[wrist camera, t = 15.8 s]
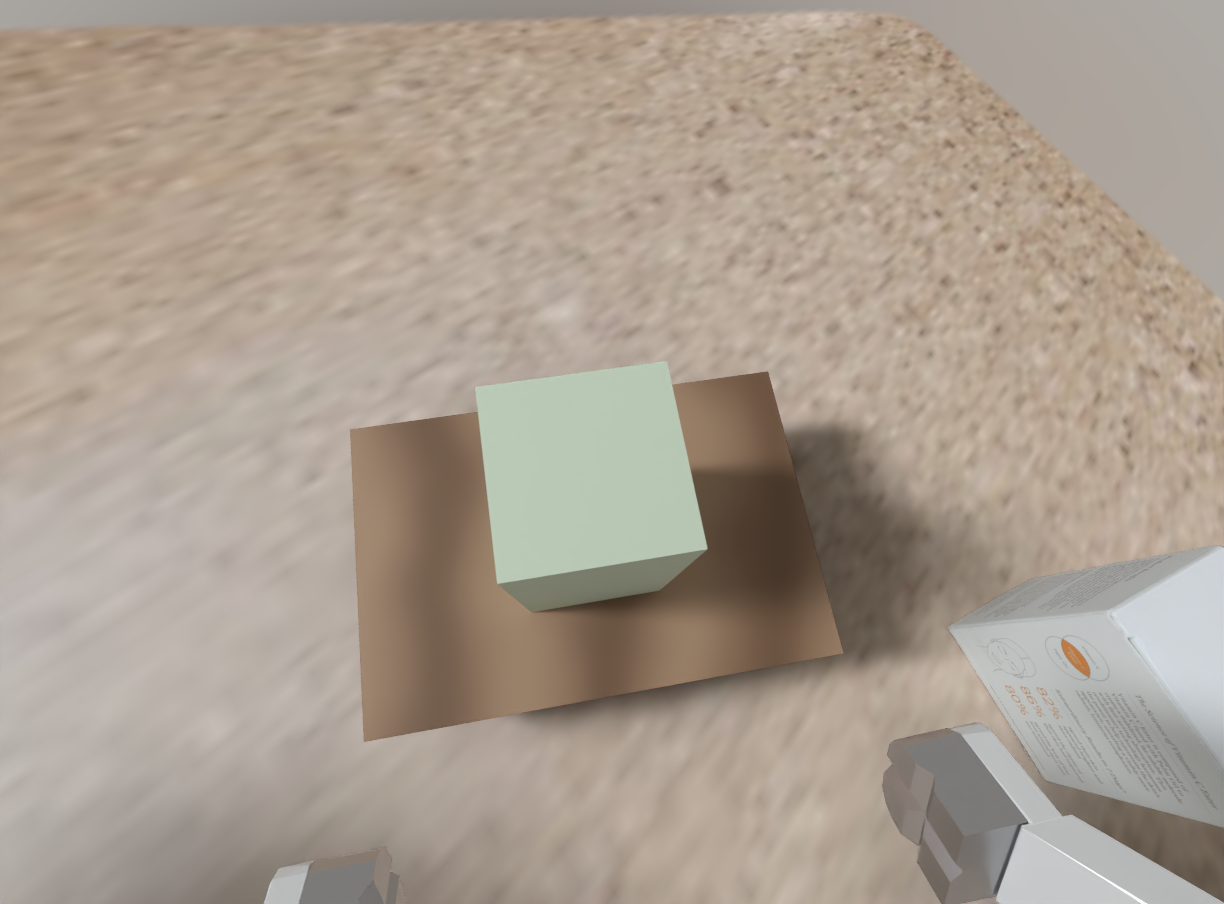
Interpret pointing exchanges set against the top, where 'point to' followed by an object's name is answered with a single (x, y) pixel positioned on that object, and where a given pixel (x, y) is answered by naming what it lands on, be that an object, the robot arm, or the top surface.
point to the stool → (585, 633)
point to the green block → (588, 485)
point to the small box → (1115, 678)
